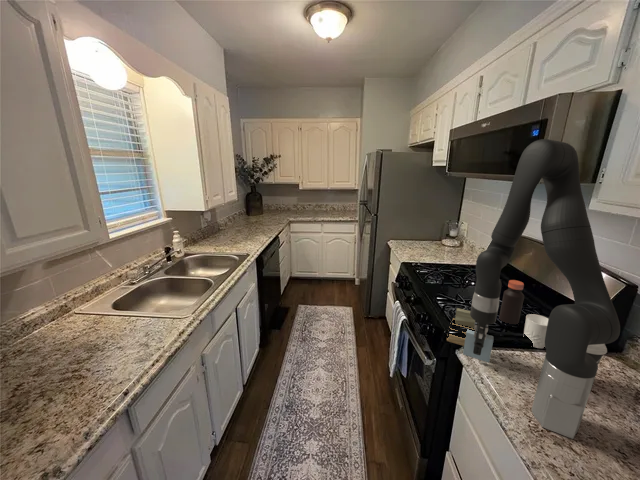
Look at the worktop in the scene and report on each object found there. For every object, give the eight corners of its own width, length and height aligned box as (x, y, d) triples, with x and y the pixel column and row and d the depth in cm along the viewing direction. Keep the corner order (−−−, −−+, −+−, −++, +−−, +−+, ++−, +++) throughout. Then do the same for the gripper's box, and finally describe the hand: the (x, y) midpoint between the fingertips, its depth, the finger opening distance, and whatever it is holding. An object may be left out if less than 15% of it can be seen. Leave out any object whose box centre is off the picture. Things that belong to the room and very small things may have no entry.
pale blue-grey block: (489, 362, 90) (493, 340, 87) (462, 354, 94) (466, 332, 91) (489, 358, 92) (493, 336, 89) (463, 350, 96) (466, 329, 93)
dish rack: (479, 350, 95) (483, 330, 93) (446, 340, 101) (449, 321, 99) (480, 331, 107) (483, 312, 105) (450, 323, 113) (453, 305, 110)
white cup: (538, 337, 103) (543, 314, 100) (553, 350, 95) (559, 326, 93) (516, 336, 104) (521, 313, 101) (530, 349, 96) (535, 325, 94)
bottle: (504, 320, 114) (513, 277, 109) (521, 328, 108) (531, 284, 103) (494, 323, 112) (502, 280, 107) (510, 332, 106) (519, 287, 101)
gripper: (498, 319, 80) (489, 366, 84) (497, 300, 91) (489, 342, 96) (470, 312, 84) (463, 357, 88) (472, 294, 95) (466, 335, 100)
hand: (477, 349), depth 92 cm, fingers open, 4 cm apart
